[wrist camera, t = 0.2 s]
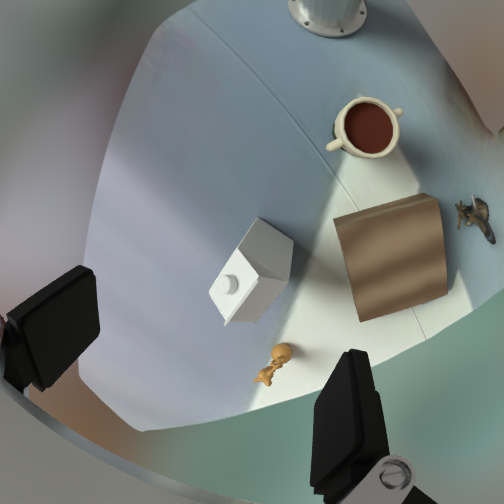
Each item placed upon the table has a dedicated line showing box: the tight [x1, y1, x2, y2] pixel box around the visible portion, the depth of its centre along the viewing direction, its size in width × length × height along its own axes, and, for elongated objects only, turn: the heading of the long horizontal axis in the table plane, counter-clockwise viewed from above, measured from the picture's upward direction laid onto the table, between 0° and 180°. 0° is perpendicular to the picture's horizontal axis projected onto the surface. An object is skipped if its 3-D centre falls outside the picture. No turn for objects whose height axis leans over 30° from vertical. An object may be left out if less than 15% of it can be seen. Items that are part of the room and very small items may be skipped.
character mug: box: [326, 97, 403, 159], centre depth 33 cm, size 11×7×13 cm, turn 122°
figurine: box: [253, 344, 292, 386], centre depth 48 cm, size 8×6×12 cm
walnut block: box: [333, 193, 448, 322], centre depth 41 cm, size 16×16×6 cm
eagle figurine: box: [455, 192, 496, 244], centre depth 36 cm, size 8×7×9 cm
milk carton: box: [209, 217, 294, 326], centre depth 39 cm, size 7×7×19 cm
